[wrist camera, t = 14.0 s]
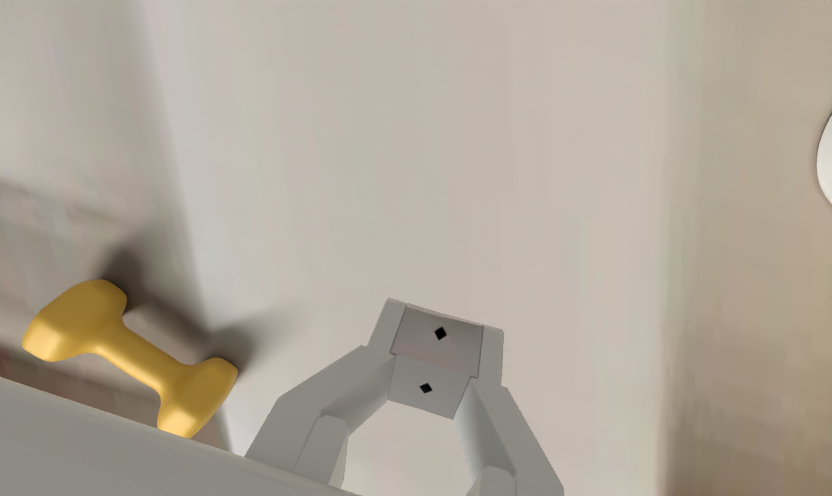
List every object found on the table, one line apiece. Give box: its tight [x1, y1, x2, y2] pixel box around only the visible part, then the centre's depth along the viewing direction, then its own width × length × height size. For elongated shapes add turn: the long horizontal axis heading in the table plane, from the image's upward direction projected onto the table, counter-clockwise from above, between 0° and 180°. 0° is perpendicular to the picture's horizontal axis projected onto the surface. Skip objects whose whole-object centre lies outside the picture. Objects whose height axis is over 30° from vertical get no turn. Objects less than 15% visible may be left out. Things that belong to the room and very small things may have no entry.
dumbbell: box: [22, 280, 238, 439], centre depth 41 cm, size 19×9×8 cm, turn 48°
